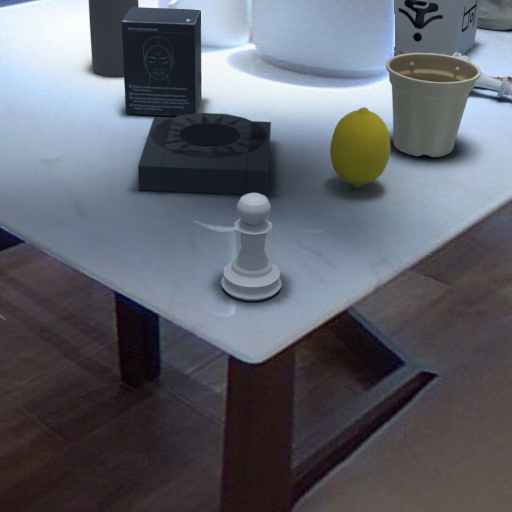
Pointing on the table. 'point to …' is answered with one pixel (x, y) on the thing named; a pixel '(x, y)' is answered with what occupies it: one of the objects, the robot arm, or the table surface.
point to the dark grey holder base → (206, 155)
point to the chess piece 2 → (490, 81)
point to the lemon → (360, 147)
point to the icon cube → (435, 25)
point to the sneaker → (495, 14)
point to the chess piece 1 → (252, 253)
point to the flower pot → (429, 100)
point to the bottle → (108, 34)
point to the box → (162, 61)
